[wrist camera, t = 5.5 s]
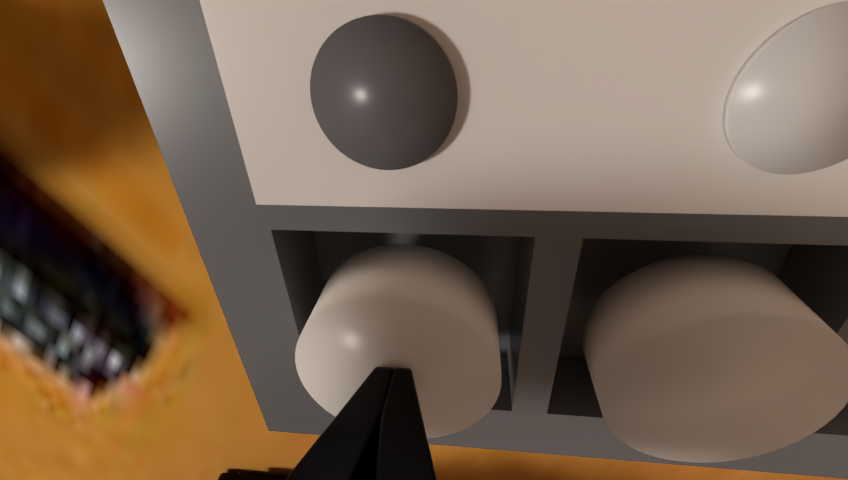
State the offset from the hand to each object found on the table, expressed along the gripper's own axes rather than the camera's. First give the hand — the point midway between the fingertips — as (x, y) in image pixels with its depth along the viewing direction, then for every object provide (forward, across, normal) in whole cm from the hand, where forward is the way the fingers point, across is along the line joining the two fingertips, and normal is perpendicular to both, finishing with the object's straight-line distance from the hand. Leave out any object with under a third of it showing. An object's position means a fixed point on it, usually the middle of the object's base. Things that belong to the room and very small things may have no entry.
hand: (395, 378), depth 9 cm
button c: (+2, 0, 0) cm, 2 cm away
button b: (+2, -7, 0) cm, 7 cm away
